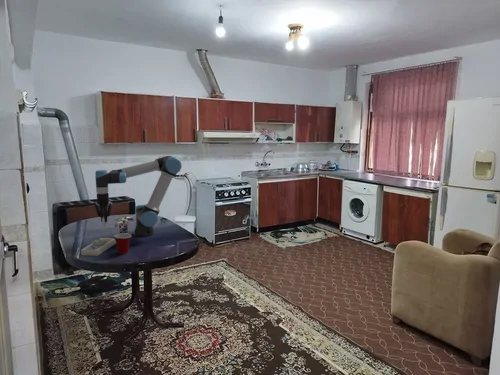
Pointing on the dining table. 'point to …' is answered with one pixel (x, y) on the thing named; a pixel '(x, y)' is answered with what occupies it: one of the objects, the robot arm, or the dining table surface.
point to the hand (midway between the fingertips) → (104, 226)
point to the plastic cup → (122, 242)
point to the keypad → (100, 249)
